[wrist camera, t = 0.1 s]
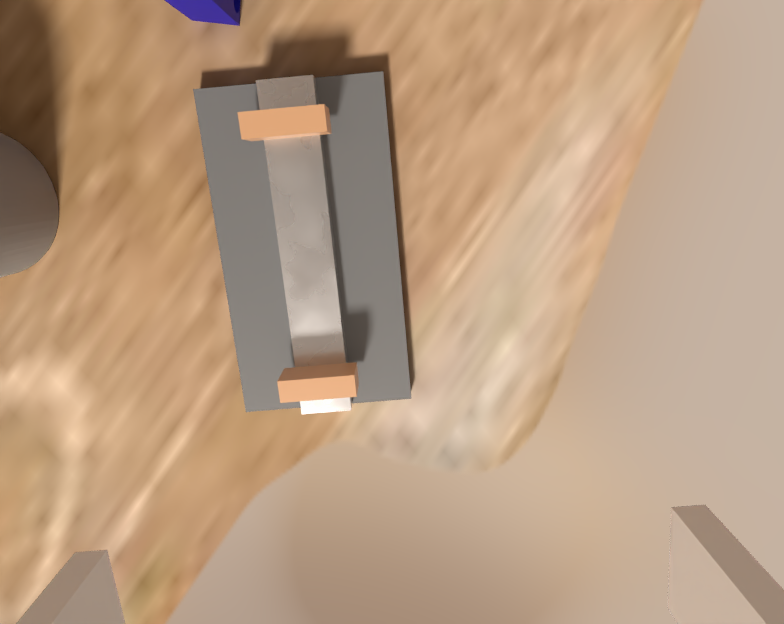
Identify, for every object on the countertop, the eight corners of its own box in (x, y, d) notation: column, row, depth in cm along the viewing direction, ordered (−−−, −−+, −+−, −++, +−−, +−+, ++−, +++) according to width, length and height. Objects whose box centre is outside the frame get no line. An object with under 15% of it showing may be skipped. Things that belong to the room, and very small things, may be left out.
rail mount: (199, 91, 37) (170, 80, 32) (383, 74, 37) (381, 60, 32) (250, 405, 42) (231, 435, 38) (410, 392, 42) (412, 420, 37)
